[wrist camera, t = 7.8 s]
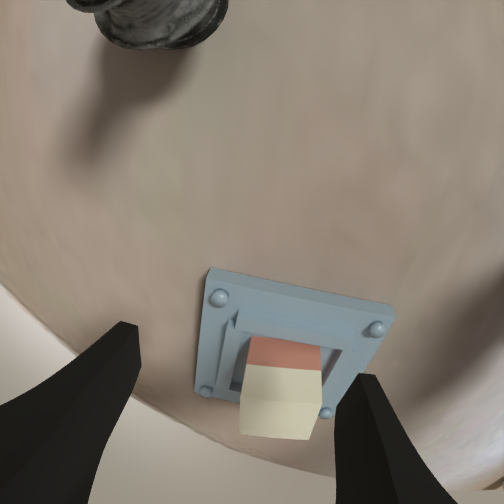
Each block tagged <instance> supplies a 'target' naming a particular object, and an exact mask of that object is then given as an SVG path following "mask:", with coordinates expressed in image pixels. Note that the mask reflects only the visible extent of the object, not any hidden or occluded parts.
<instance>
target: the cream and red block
mask: <svg viewBox="0 0 504 504" xmlns="http://www.w3.org/2000/svg"><path fill="white" fill-rule="evenodd" d="M321 406H322V379H321V352H320V346H316V345H310V344H305V343H299V342H294V341H289V340H284V339H278V338H268V337H258V336H251V342H250V347H249V353H248V358H247V363H246V369H245V374H244V380H243V385H242V391H241V396H240V434H244V435H252V436H261V437H271V438H283V439H298V440H309V437H310V435H311V432H312V430H313V427H314V425H315V422H316V419H317V417H318V414H319V411H320V409H321Z"/></svg>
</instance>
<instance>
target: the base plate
mask: <svg viewBox="0 0 504 504" xmlns="http://www.w3.org/2000/svg"><path fill="white" fill-rule="evenodd" d="M395 318H396V316H395V313H394V310H393V307H392V305H387V304H382V303H376V302H371V301H366V300H361V299H356V298H351V297H347V296H342V295H337V294H332V293H327V292H322V291H317V290H313V289H308V288H303V287H298V286H294V285H289V284H284V283H280V282H275V281H270V280H266V279H261V278H257V277H252V276H248V275H243V274H238V273H234V272H230V271H225V270H221V269H216V268H212V267H211V268H210V271H209V273H208V275H207V278H206V284H205V293H204V301H203V310H202V319H201V328H200V337H199V347H198V357H197V367H196V378H195V389H194V393H197V394H199V395H200V396H201V397H203V398H210V397H214V398H218V399H223V400H227V401H232V402H237V403H240V396H241V391H242V385H243V380H244V374H245V369H246V363H247V358H248V353H249V347H250V342H251V336H258V337H268V338H278V339H284V340H289V341H294V342H299V343H305V344H310V345H316V346H320V352H321V379H322V406H321V409H320V411H319V414H318V416H320V418H321V419H329V418H331V417H333V416H334V414H335V413H336V406H337V404H338V403H339V402H340V400H341V399H342V397H343V396H344V394H345V393H346V391H347V390H348V388H349V387H350V385H351V384H352V382H353V380H354V379H355V377H356V376H357V374H358V373H363V372H364V370H365V369H366V367H367V366H368V364H369V362H370V361H371V359H372V358H373V356H374V354H375V353H376V351H377V349H378V348H379V346H380V344H381V343H382V341H383V339H384V337H385V336H386V334H387V332H388V331H389V329H390V327H391V325H392V323H393V322H394V320H395Z"/></svg>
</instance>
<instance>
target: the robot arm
mask: <svg viewBox="0 0 504 504" xmlns="http://www.w3.org/2000/svg"><path fill="white" fill-rule="evenodd" d="M140 368H141V356H140V345H139V333H138V326H136V325H133V324H130V323H126V322H123V321H120V322H118V323H117V324H116V325H115V326H114V327H112V328H111V329H110V330H109V331H108V332H107V333H106V334H104V335H103V336H102V337H101V338H100V339H98V340H97V341H96V342H95V343H94V344H93V345H91V346H90V347H89V348H88V349H86V350H85V351H84V352H83V353H81V354H80V355H79V356H78V357H76V358H75V359H74V360H73V361H71V362H70V363H69V364H67V365H66V366H65V367H63V368H62V369H61V370H59V371H58V372H56V373H55V374H54V375H52V376H51V377H49V378H48V379H46V380H45V381H43V382H42V383H40V384H39V385H38V386H36V387H34V388H32V389H31V390H29V391H27V392H25V393H24V394H22V395H20V396H18V397H16V398H14V399H13V400H10V401H9V402H7V403H4V404H2V405H0V504H88V500H89V495H90V492H91V488H92V485H93V481H94V478H95V474H96V471H97V468H98V465H99V462H100V459H101V456H102V453H103V450H104V448H105V445H106V443H107V441H108V438H109V437H110V435H111V433H112V431H113V429H114V427H115V425H116V423H117V421H118V419H119V417H120V415H121V413H122V411H123V409H124V407H125V405H126V403H127V401H128V399H129V397H130V395H131V393H132V390H133V388H134V385H135V382H136V380H137V377H138V374H139V371H140ZM334 442H335V464H336V504H457V502H456V501H455V500H454V499H453V498H452V497H451V496H450V495H449V494H448V492H446V490H445V489H444V488H443V487H442V486H441V484H440V483H439V482H438V481H437V479H436V478H435V477H434V475H433V474H432V473H431V471H430V470H429V469H428V467H427V466H426V464H425V463H424V461H423V460H422V459H421V457H420V455H419V454H418V452H417V451H416V449H415V447H414V446H413V444H412V443H411V441H410V439H409V437H408V436H407V434H406V432H405V430H404V429H403V427H402V425H401V423H400V421H399V420H398V418H397V416H396V414H395V412H394V410H393V408H392V406H391V404H390V403H389V401H388V399H387V397H386V395H385V393H384V391H383V389H382V387H381V385H380V383H379V381H378V380H377V378H376V376H375V375H372V374H364V373H358V374H357V376H356V377H355V379H354V380H353V382H352V384H351V385H350V387H349V388H348V390H347V391H346V393H345V394H344V396H343V397H342V399H341V400H340V402H339V403H338V404H337V406H336V413H335V427H334Z"/></svg>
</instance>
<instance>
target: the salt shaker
mask: <svg viewBox="0 0 504 504" xmlns="http://www.w3.org/2000/svg"><path fill="white" fill-rule="evenodd" d="M66 1H67V3H68V4H69V5H70V6H71V7H72V8H74V9H76V10H78V11H81V12H85V13H94V16H95V21H96V23H97V25H98V27H99V29H100V31H101V33H102V34H103V35H104V36H105V37H106V38H107V39H108V40H109V41H111V42H112V43H114V44H116V45H119V46H121V47H123V48H128V49H135V50H146V49H156V48H163V49H169V50H171V49H183V48H186V47H189V46H193V45H195V44H197V43H199V42H201V41H202V40H204V39H206V38H207V37H208V36H210V35H211V34H212V33H213V32H214V31H215V30H216V29H217V28H218V26H219V25H220V23H221V22H222V21H223V19H224V17H225V14H226V12H227V9H228V1H229V0H66Z"/></svg>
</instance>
